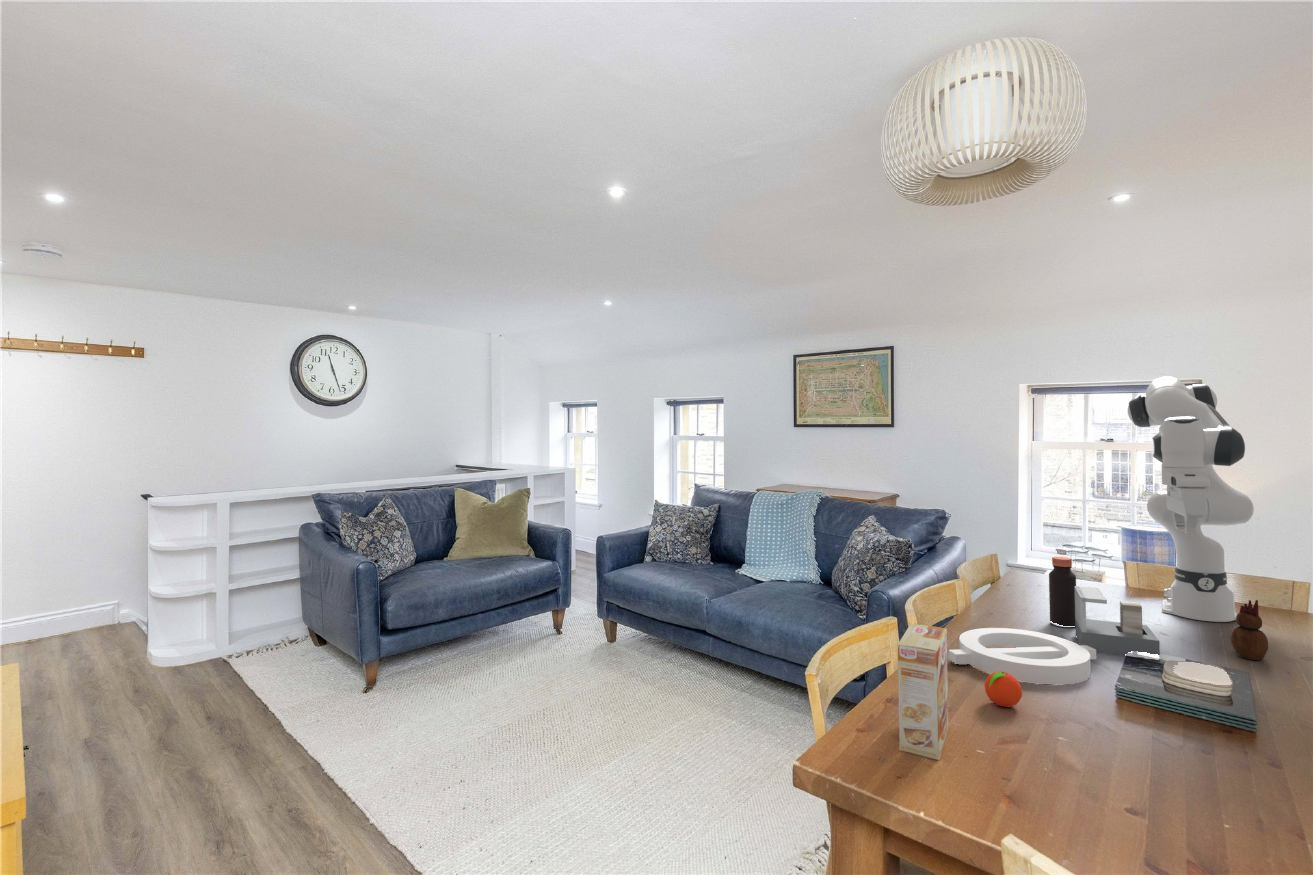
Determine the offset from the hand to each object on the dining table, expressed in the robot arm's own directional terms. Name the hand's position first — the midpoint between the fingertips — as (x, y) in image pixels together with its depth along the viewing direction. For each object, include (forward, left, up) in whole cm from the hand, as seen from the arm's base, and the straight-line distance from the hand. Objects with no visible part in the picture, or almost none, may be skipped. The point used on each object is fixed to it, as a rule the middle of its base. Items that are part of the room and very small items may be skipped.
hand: (1185, 531), depth 158 cm
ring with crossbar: (+28, -38, -32) cm, 57 cm away
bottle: (-12, -26, -31) cm, 42 cm away
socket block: (+5, -16, -31) cm, 35 cm away
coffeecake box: (+80, -56, -31) cm, 103 cm away
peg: (+5, -13, -31) cm, 34 cm away
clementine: (+58, -43, -31) cm, 79 cm away
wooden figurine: (0, +12, -31) cm, 34 cm away
